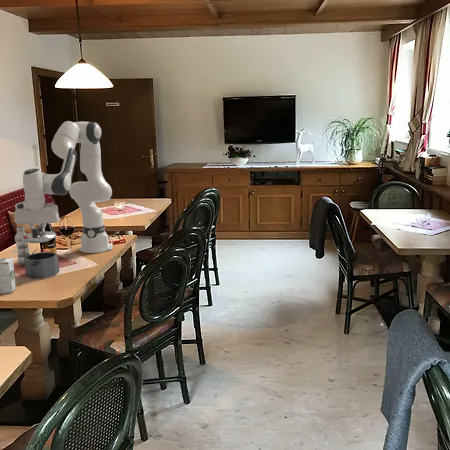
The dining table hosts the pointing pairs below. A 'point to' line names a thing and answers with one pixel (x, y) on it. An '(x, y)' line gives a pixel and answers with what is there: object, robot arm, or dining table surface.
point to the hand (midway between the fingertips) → (38, 232)
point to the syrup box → (7, 276)
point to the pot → (41, 265)
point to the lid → (38, 235)
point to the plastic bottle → (21, 245)
